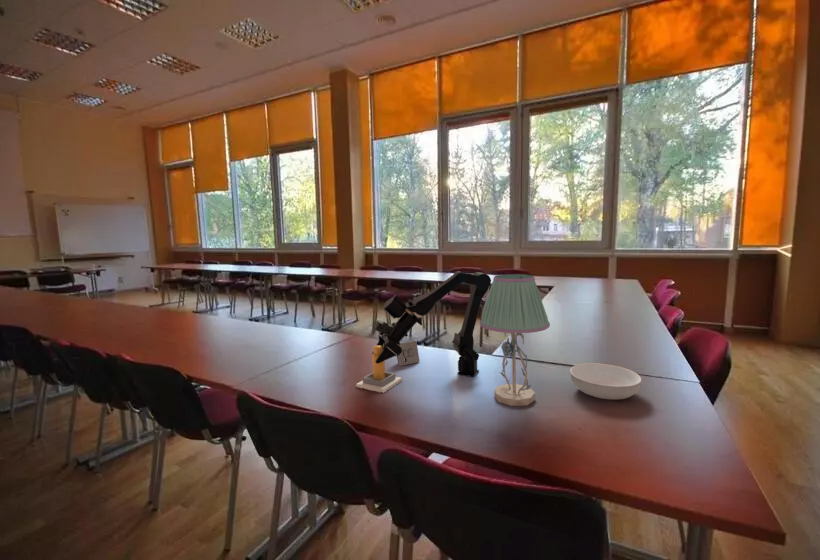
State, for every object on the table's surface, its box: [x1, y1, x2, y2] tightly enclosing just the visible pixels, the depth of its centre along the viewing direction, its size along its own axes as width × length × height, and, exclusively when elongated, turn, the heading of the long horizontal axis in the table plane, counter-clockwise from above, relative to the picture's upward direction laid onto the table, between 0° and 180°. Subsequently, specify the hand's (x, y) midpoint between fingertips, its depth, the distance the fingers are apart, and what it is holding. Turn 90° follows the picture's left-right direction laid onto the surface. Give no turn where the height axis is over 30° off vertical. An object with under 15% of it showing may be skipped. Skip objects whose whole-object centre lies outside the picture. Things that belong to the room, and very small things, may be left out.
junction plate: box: [356, 371, 403, 394], centre depth 143 cm, size 12×12×3 cm
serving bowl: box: [569, 362, 643, 400], centre depth 128 cm, size 21×21×7 cm
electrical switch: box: [396, 340, 420, 367], centre depth 165 cm, size 9×5×9 cm, turn 116°
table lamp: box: [479, 273, 551, 407], centre depth 125 cm, size 22×22×40 cm
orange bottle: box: [371, 344, 386, 381], centre depth 142 cm, size 4×4×13 cm
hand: (374, 358), depth 142 cm, fingers open, 9 cm apart
